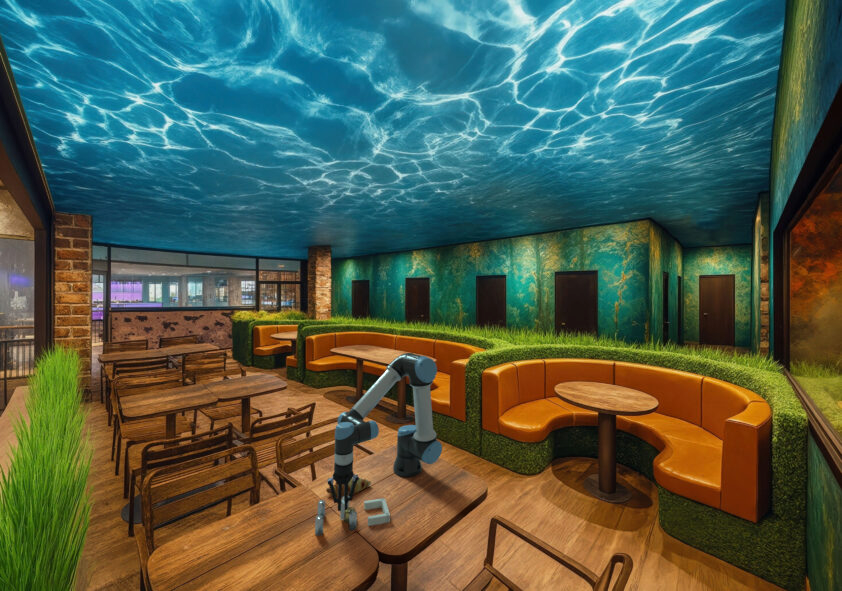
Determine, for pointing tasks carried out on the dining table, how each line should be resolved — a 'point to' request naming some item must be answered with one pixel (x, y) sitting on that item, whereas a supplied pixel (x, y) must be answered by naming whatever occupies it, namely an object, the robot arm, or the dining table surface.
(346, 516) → the gold round piece
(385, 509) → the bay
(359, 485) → the croissant
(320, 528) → the spacers
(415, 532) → the dining table surface
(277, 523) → the dining table surface
